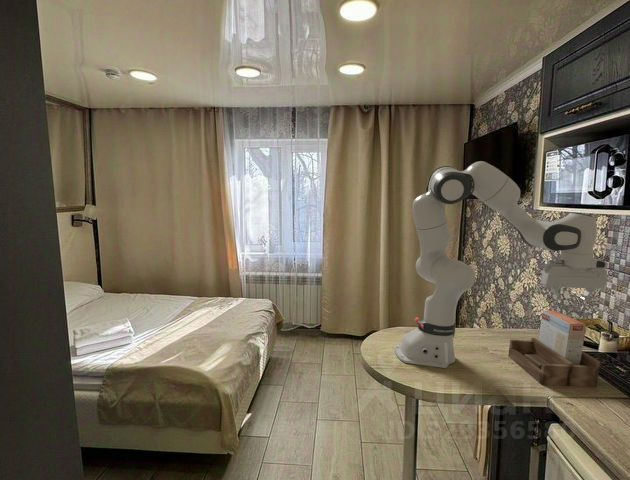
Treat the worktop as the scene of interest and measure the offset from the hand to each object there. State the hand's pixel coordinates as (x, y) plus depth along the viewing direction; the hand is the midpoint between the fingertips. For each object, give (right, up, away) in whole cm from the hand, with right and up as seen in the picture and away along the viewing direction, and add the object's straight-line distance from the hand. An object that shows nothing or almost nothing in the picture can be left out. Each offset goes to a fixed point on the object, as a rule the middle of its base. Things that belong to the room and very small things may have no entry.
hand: (570, 299), depth 119 cm
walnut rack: (-5, -27, +4) cm, 28 cm away
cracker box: (-2, -27, +5) cm, 28 cm away
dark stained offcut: (-10, -24, +3) cm, 26 cm away
